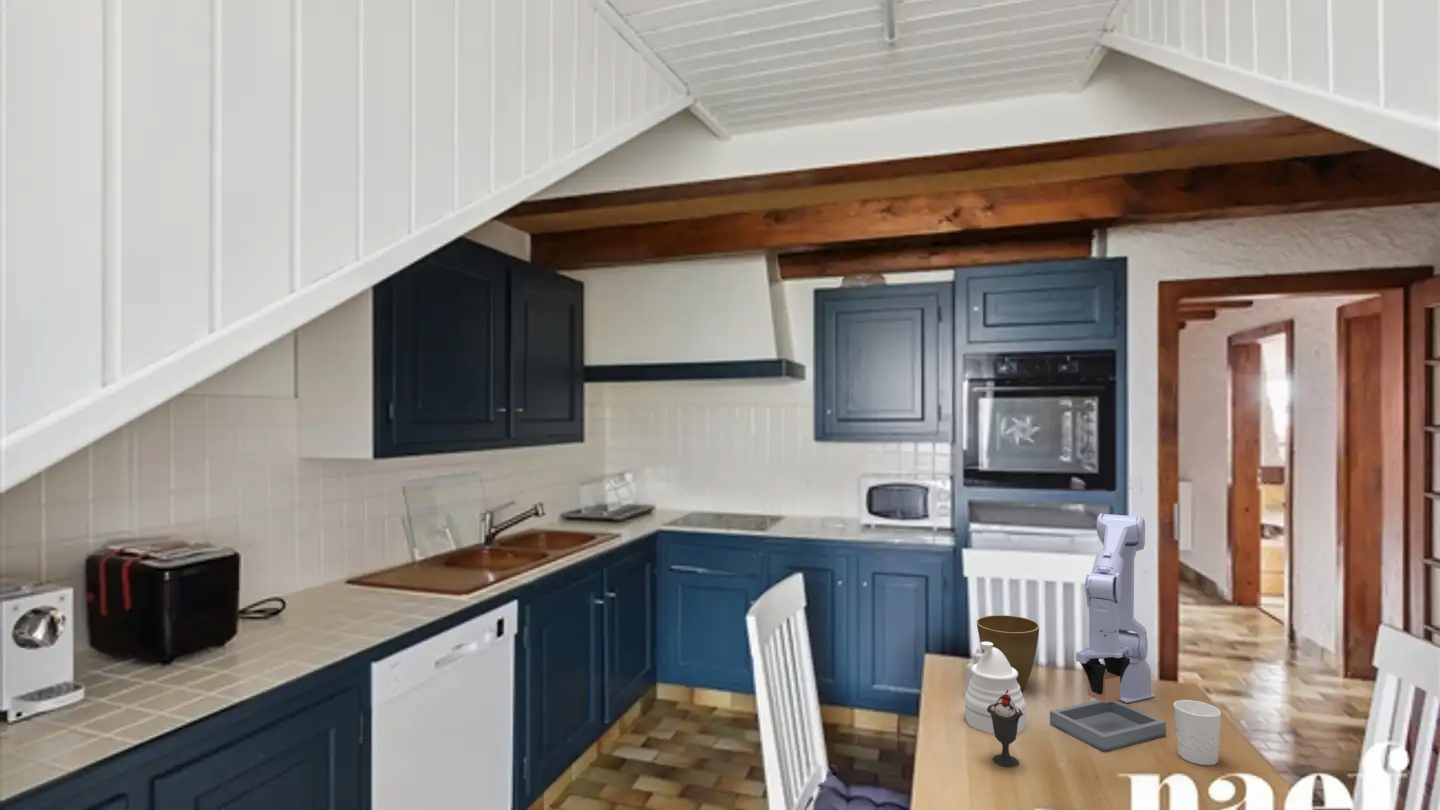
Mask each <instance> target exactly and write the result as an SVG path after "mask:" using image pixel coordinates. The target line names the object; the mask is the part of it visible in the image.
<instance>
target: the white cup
mask: <svg viewBox="0 0 1440 810" xmlns="http://www.w3.org/2000/svg"><path fill="white" fill-rule="evenodd" d="M1221 714H1222V713H1221V710H1220V709H1219V708H1217V707H1216V706H1214V705H1211V704H1209V703H1206V702H1202V701H1197V700H1191V699H1179V700H1176V701H1174V702H1173V715H1174V716H1173V717H1174V726H1175V729H1174V730H1175V735H1176V736H1175V737H1176V742H1177V753H1178V756H1179V757H1180V758H1181V759H1183V760H1185V761H1187V762H1189V763H1193V764H1195V765H1200V766H1215V765H1217V764H1218V763H1219V752H1220V751H1219V750H1220V744H1221V743H1220V742H1221V741H1220V738H1221V719H1222V717H1221ZM1216 763H1217V764H1216Z"/></svg>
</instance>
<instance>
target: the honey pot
mask: <svg viewBox="0 0 1440 810" xmlns="http://www.w3.org/2000/svg"><path fill="white" fill-rule="evenodd" d="M981 646H982V647H981ZM980 647H981V650H982V649H983V650H984V651H985V652H984V653H983V652H982V654H983V655H982V656H981V658H980V660H979V661H978V663H977V664H974V665H973V666H972V667H971V672H972V673H973V676H972V678H971V679H970V681H969V683H970V684H969V686H968V691H967V690H966V692H965V694H964V695H965V696H964V702H965V703H964V716H965V718H966V719H965V721H967V722H968V723H969V724H970V725H969V724H968V723H967V722H966V723H967V724H968V725H969V726H971V725H972V726H973V727H972V726H971V727H972V728H974V727H976V728H977V729H976V728H975V729H976V730H978V729H979V730H978V731H981V730H982V731H981V732H984V731H985V732H984V733H987V732H990V733H989V734H992V733H994V729H993V722H992V717H991V714H990V713H989V712H988V711H987V708H988V706H989V705H992V704H996V702H997V700H998V698H1000V697H1001V696H1002V695H1006V694H1007V695H1009V696H1010V698H1011V699H1012V700H1013V701H1014V703H1015V706H1017V708H1019V709H1020V710H1021V711H1022V713H1023V715H1022V716H1020V718H1019V721H1018V727H1017V734H1019V733H1018V732H1020V733H1022V732H1024V731H1025V730H1026V728H1027V712H1026V709H1027V708H1026V707H1027V706H1026V705H1027V703H1026V700H1025V698H1024V697H1023V692H1022V690H1020V686H1019V684H1018V682H1017V680H1016V678H1017V677H1018V672H1017V670H1015V669H1014V668H1012V667H1011V666H1010V664H1009V662H1008V660H1007V658H1006V657H1005V655H1004V654H1003V653H1002V652H1001V651H1000V650H999V649H997V648H995V647H993V643H991V642H981V643H980ZM1007 690H1008V693H1006V691H1007ZM1005 693H1006V694H1005ZM1023 730H1024V731H1023Z"/></svg>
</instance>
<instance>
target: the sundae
mask: <svg viewBox="0 0 1440 810" xmlns="http://www.w3.org/2000/svg"><path fill="white" fill-rule="evenodd" d="M1006 693H1008V690H1007V691H1006ZM1006 693H1005V694H1006ZM987 711H988V712H989V713H990V714H991V717H992V722H993V729H994V734H993V735H994V737H995V738H996V739H997V741H998V742H999V743H1000V744H1001V747H1002V749H1001V753H999V754H996V755H994V756H993V757H992V761H993V762H994V763H995V764H997V765H998V766H1001V767H1006V768H1012V767H1017V766H1018V765H1019V764H1020V762H1019V760H1018V758H1016V757H1015V756H1012V755H1010V749H1009V748H1010V747H1009V746H1010V745H1012V744H1013V742H1014V741H1016V739H1017V735H1018V733H1017V727H1018V721H1019V718H1020V716H1022V715H1023V713H1022V711H1021V710H1020V709H1019V708H1017V706H1015V703H1014V701H1013V700H1012V699H1011V698H1010V696H1009V695H1007V694H1006V695H1002V696H1001V697H1000V698H998V700H997V702H996V704H992V705H989V706H988V708H987Z"/></svg>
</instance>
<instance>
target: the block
mask: <svg viewBox="0 0 1440 810" xmlns="http://www.w3.org/2000/svg"><path fill="white" fill-rule="evenodd" d="M1087 696H1088V697H1091V698H1093V699H1095V700H1096V701H1097V700H1100V701H1102V702H1104V703H1108V702H1112V701H1121V691H1120V676H1117V675H1115V674H1112V673H1109V672H1107V671H1106V670H1105V673H1104V678H1103V690H1102V694H1100V695H1099V694H1097V693H1094V692H1092V690H1091V687H1090V683H1089V680H1088V679H1087Z"/></svg>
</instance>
